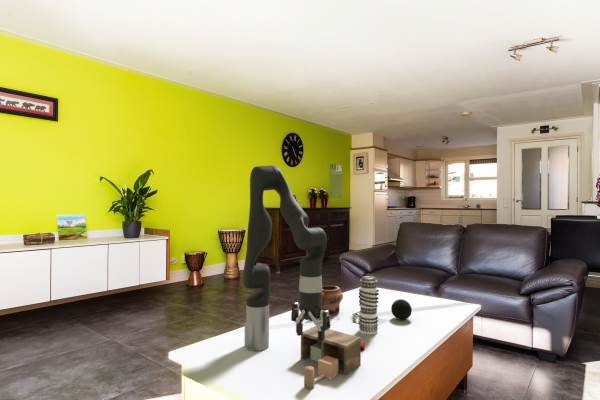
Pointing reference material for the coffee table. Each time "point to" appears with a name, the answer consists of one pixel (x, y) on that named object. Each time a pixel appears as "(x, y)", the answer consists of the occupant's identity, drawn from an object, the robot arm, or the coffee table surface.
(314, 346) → the shelf block
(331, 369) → the tethered block
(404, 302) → the decorative ball
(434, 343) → the coffee table surface
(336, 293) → the decorative planter
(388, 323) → the coffee table surface
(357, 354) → the shelf
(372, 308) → the stacked ring tower
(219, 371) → the coffee table surface
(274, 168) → the robot arm
